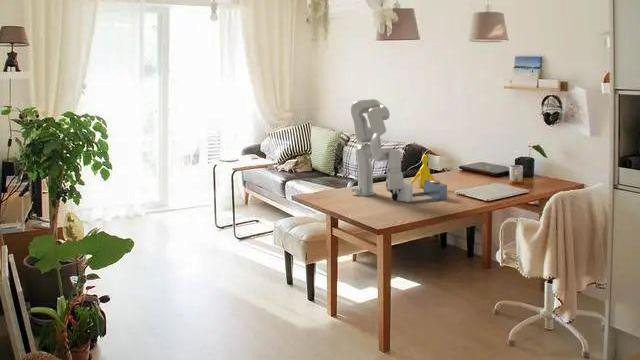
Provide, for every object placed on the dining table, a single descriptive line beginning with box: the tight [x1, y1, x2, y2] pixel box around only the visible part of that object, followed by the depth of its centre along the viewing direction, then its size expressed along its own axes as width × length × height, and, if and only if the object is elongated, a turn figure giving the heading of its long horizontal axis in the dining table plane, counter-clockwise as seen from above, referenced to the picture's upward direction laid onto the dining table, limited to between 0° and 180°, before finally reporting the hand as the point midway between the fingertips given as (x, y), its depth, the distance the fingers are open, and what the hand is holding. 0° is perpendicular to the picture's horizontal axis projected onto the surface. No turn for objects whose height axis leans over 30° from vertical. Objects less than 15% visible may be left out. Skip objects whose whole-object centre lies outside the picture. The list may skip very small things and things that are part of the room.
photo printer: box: [396, 180, 413, 203], centre depth 352 cm, size 10×4×12 cm, turn 57°
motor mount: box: [407, 179, 448, 205], centre depth 356 cm, size 26×19×10 cm
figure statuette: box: [410, 154, 437, 188], centre depth 387 cm, size 18×8×22 cm, turn 93°
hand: (394, 200), depth 351 cm, fingers closed
